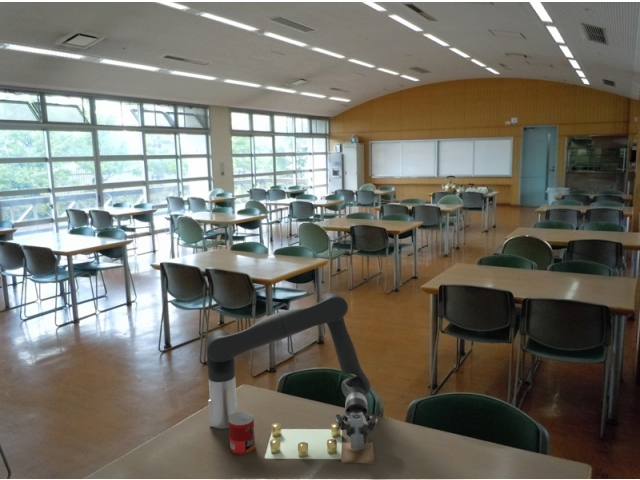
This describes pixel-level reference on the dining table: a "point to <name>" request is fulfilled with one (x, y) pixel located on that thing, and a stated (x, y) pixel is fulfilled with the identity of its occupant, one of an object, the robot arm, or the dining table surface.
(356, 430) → the grey hexagonal metal post
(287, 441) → the parts mat
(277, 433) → the spacers
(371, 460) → the tray
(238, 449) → the canned food
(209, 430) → the dining table surface
